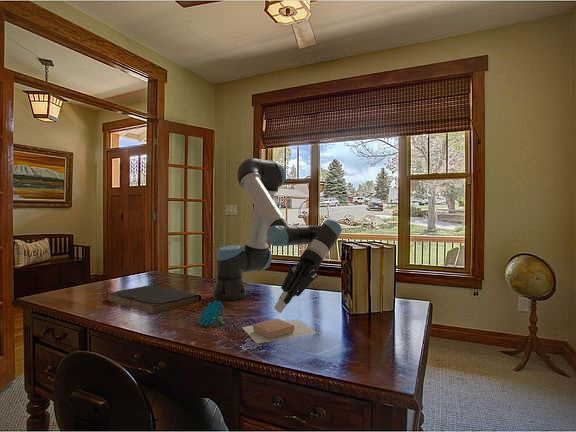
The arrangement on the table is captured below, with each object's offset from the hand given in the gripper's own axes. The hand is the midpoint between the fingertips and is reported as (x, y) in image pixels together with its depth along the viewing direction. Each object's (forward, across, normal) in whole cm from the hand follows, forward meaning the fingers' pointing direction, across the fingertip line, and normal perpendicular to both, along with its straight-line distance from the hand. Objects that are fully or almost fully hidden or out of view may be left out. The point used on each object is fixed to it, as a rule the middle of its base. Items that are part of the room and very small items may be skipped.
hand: (277, 310), depth 107 cm
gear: (+14, +21, +4) cm, 26 cm away
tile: (+2, 0, -7) cm, 7 cm away
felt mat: (+4, +1, -6) cm, 8 cm away
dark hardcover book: (+19, +64, +7) cm, 67 cm away
